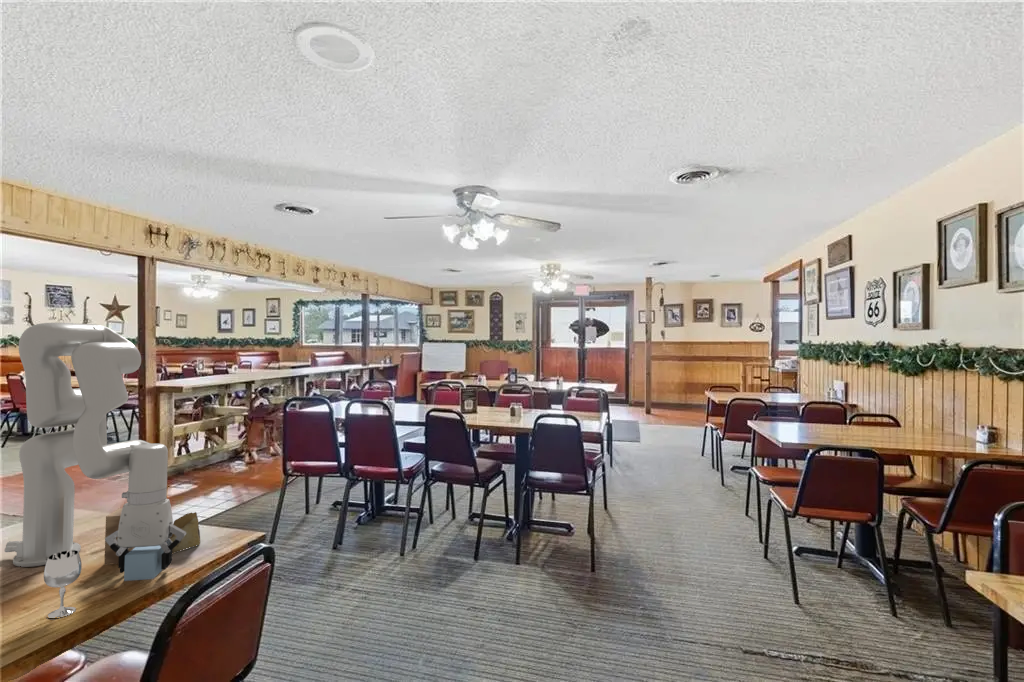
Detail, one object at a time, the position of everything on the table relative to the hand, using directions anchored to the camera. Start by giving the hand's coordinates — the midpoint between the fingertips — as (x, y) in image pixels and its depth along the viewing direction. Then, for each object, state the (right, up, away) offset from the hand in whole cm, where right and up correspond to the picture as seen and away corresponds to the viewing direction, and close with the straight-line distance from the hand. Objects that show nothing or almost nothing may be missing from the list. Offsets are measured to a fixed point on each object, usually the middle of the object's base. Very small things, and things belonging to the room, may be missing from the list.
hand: (145, 568), depth 118 cm
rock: (-1, -2, +14) cm, 14 cm away
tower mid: (-11, +5, +8) cm, 14 cm away
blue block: (0, -1, 0) cm, 1 cm away
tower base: (-11, -1, +8) cm, 14 cm away
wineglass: (-4, -1, -17) cm, 18 cm away
